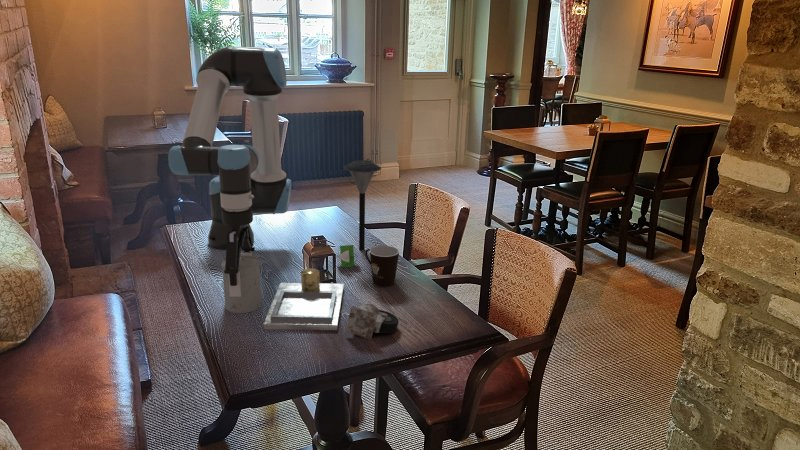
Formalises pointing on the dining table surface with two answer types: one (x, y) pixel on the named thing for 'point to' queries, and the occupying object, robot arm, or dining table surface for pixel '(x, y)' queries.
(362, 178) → the solar garden light
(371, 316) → the caster wheel
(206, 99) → the robot arm
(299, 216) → the dining table surface
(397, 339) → the dining table surface
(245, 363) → the dining table surface
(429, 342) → the dining table surface
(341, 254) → the geometric puzzle
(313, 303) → the carrier plate
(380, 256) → the coffee mug
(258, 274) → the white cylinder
